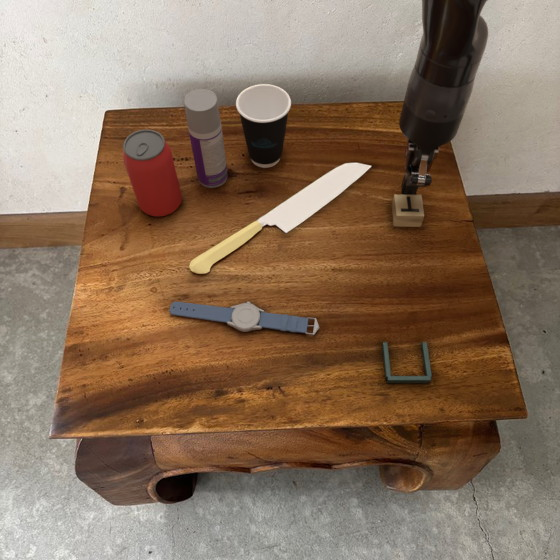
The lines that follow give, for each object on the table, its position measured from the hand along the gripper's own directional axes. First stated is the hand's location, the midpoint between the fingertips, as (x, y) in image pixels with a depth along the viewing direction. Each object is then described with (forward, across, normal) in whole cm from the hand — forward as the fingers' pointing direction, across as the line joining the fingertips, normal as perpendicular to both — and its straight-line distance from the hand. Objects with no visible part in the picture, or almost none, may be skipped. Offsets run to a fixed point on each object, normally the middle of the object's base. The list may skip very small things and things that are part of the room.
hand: (408, 191), depth 82 cm
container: (+2, 0, +30) cm, 30 cm away
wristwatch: (+2, -24, +21) cm, 32 cm away
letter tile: (+2, -4, 0) cm, 4 cm away
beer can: (+2, -5, +37) cm, 37 cm away
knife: (+2, -6, +18) cm, 18 cm away
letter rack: (+1, -27, 0) cm, 27 cm away
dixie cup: (+2, +6, +22) cm, 23 cm away
